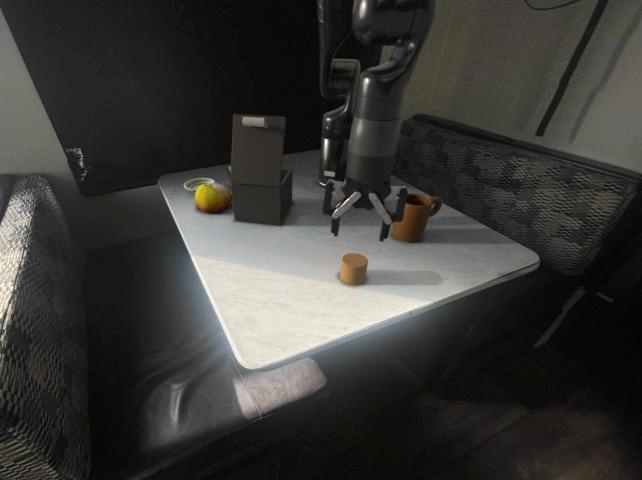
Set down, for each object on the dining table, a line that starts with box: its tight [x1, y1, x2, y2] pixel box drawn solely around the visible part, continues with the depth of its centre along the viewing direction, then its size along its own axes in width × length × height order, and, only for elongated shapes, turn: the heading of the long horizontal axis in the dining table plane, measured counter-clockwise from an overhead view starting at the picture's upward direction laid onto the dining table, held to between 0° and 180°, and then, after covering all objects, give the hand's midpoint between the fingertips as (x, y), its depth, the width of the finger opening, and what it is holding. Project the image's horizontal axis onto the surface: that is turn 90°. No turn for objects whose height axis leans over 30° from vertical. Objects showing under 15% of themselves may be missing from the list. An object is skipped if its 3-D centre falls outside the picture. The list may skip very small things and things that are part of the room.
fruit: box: [194, 182, 233, 214], centre depth 94 cm, size 11×10×8 cm
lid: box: [229, 113, 287, 188], centre depth 77 cm, size 15×13×5 cm
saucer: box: [183, 177, 216, 194], centre depth 104 cm, size 10×10×2 cm
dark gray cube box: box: [230, 167, 293, 227], centre depth 90 cm, size 15×13×10 cm
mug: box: [391, 193, 443, 243], centre depth 81 cm, size 12×8×9 cm, turn 112°
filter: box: [339, 252, 369, 286], centre depth 68 cm, size 5×5×4 cm
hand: (358, 237), depth 64 cm, fingers open, 8 cm apart
